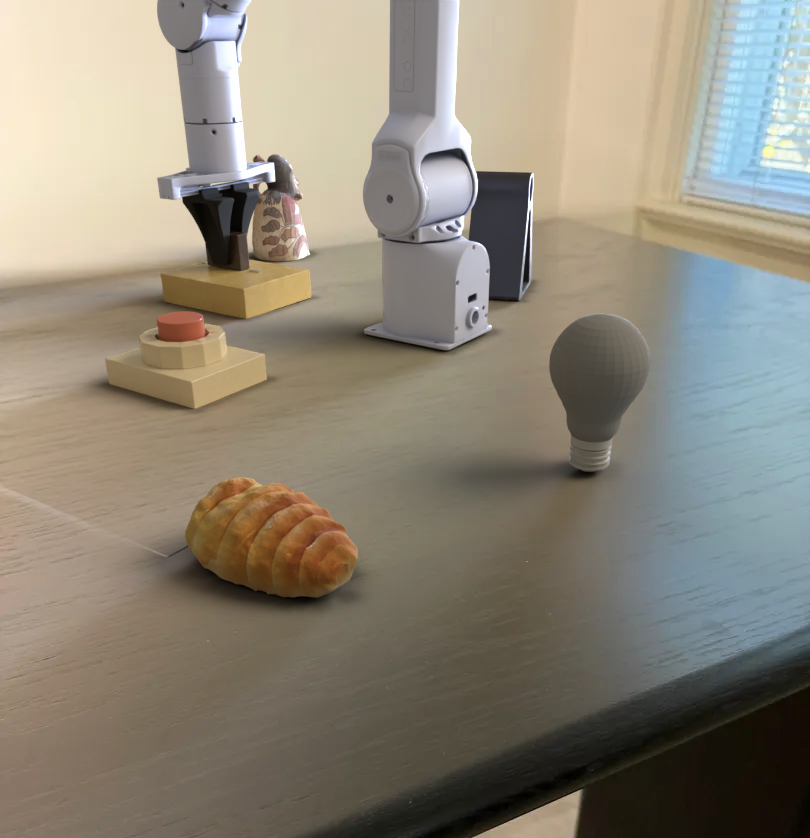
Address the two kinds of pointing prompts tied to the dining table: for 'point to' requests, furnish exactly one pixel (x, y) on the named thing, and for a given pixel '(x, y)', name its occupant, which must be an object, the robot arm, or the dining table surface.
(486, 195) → the phone stand
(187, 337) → the bell button
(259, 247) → the figurine
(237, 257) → the thumb turn
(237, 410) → the dining table surface
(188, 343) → the block
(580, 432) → the light bulb
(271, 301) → the plate
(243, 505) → the pastry
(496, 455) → the dining table surface
